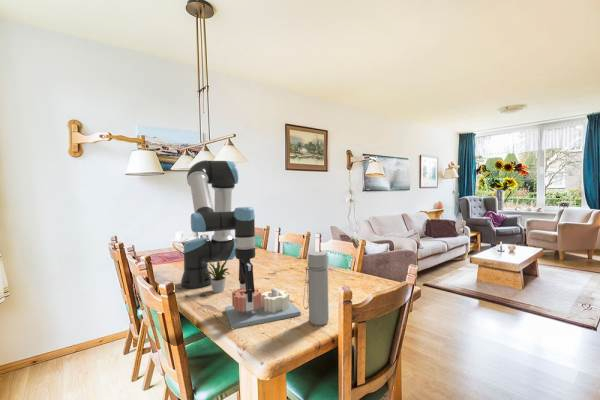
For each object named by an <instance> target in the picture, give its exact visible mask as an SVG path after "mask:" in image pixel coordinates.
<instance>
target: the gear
mask: <svg viewBox="0 0 600 400" xmlns="http://www.w3.org/2000/svg"><path fill="white" fill-rule="evenodd" d="M250 290H251V289H250ZM254 290H255V292H254V293H253V307H254V310H255V309H257V308H259V306H261V294H262V292H261V291H259V289H258V288H255V287H254ZM244 292H246V289H245V290H241V289H240V288H239V289H237V290H234V291H233V292H231V297H232V300H231V303H232V305H231V306H234V310H238V311H242V312H243V311H246V297H245V295H243V293H244Z"/></svg>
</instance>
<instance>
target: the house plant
mask: <svg viewBox="0 0 600 400" xmlns="http://www.w3.org/2000/svg"><path fill="white" fill-rule="evenodd" d="M210 261H211V260H210ZM228 261H230V260H229V259H228V260H226V261H223V260H222V261H219V258H218V262H217V263H216V267H215V264H214V263H215V262H210V263H209V266H208V269H209V270H211V271H207V272H206V273H208V274H210V275H212V277H211V284H210V285H211V289H212V293H214V294H219V293H220V292H221V293H224V292H225V286H226V276H227V275H226V274H228V275H230V272H228V270H229V267H227V268H225V266H226V265H227V263H228ZM222 262H223V264H222V265H221V263H222ZM204 263H205V262H204ZM206 264H207V263H206Z"/></svg>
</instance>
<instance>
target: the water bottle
mask: <svg viewBox="0 0 600 400" xmlns="http://www.w3.org/2000/svg"><path fill="white" fill-rule="evenodd" d="M304 268H305V274H307V278H304V279H305V281H304V282H305V284H304V285H306V288H307V289H306V288H304V292H303V296H305V293H306V292H307V293H306V294H307V297H308V305H307V307H305V306H303V308H304V310H308V321H309V322H310V323H311V325H314V326H324V325H327V324H328V322H329V317H330V315H329V309H330V307H329V264H328V253H327V252H325V251H311V252H309V253H308V258H307V266H305V267H304ZM306 290H307V291H306ZM302 303H303V305H305V299H303V301H302Z"/></svg>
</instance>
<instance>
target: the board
mask: <svg viewBox="0 0 600 400" xmlns="http://www.w3.org/2000/svg"><path fill="white" fill-rule="evenodd" d="M243 295H245V294H244V293H243ZM224 311H226V312H225V313H226V317H227V320H228V319H229V320H228V323H229V324H230V327H232V328H234V329H238V328H237V327H239V328H244V327H248V325H250V326H254V324H255V325H259V324H260V325H261V324H265V323H269V322H274V321H279V320H284V319H290V318H294V317H300V316H302V314H301V313H302V312H301V310H300V309H299V308H298V307H297V306H295V304H294V303H293V302H292V301H291V300H290V294H289V293H287V292H286V290H282V289H279V288H276V287H273V288H272V289H271V291H269V290H267V291H266V290H265V292H262V293H261V306H259V308H257V309H255V310H250V311H243V312H242V311H238V310H234V306H232V305H230V306H224ZM243 326H244V327H243ZM232 328H231V329H232Z"/></svg>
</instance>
